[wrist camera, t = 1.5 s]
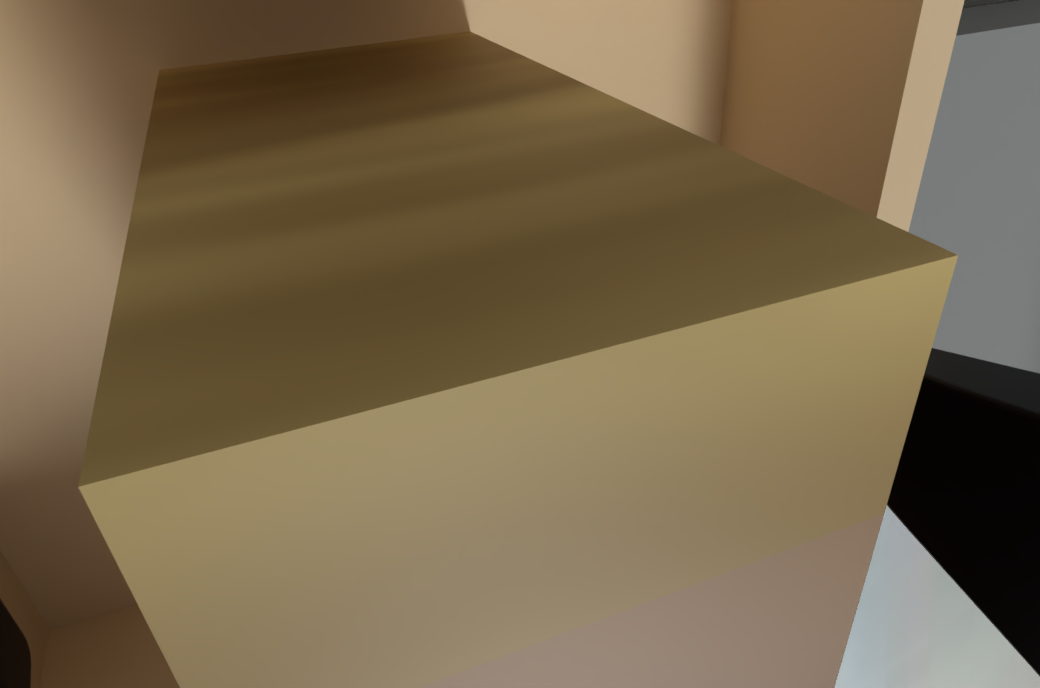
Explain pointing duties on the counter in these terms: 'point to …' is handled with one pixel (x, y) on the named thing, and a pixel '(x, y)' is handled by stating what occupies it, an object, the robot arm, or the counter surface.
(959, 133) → the trivet
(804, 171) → the wooden tray
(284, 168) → the brown wooden block
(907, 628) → the counter surface
